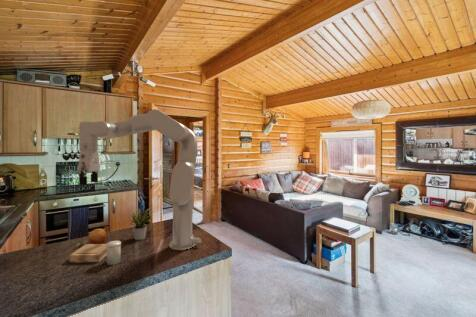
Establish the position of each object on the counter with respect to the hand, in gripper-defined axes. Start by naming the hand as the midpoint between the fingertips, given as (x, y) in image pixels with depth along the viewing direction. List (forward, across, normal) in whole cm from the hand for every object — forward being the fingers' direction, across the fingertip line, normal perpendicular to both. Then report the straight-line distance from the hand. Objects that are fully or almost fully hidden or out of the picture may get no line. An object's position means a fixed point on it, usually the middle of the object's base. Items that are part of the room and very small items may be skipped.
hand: (88, 183), depth 119 cm
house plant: (+31, +12, -22) cm, 39 cm away
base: (+31, -10, -7) cm, 33 cm away
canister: (+31, -16, -19) cm, 40 cm away
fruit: (+31, +4, -2) cm, 31 cm away
